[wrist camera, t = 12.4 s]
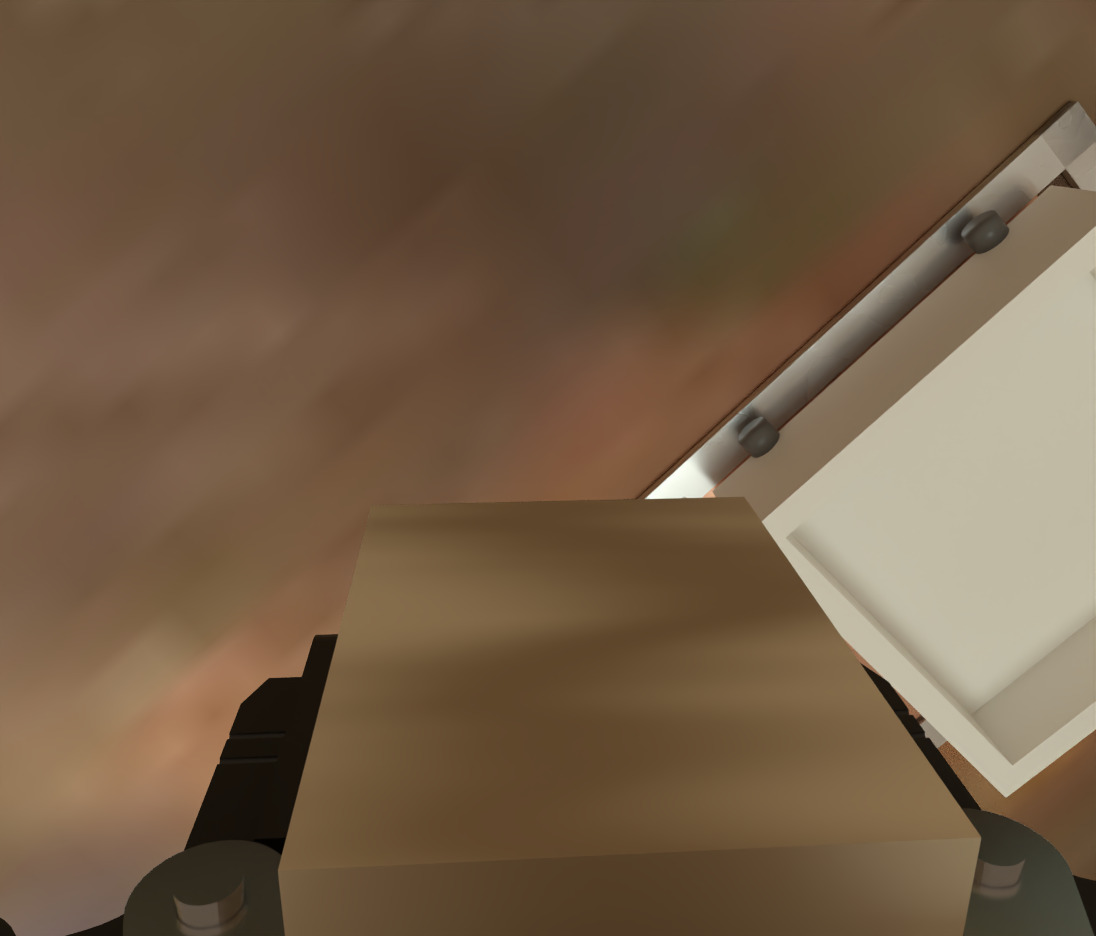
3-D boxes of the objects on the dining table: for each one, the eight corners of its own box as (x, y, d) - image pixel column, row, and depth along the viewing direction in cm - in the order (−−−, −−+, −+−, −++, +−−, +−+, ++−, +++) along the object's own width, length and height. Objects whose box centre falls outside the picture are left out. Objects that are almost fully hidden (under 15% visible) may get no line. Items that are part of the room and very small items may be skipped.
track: (706, 919, 35) (709, 928, 35) (423, 695, 31) (422, 702, 31) (1311, 440, 31) (1321, 445, 30) (1069, 101, 26) (1077, 101, 26)
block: (744, 496, 12) (981, 837, 6) (720, 801, 14) (894, 1290, 8) (371, 505, 12) (277, 872, 6) (391, 815, 13) (329, 1335, 8)
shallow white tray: (958, 732, 32) (1017, 809, 29) (695, 472, 29) (726, 523, 25) (1269, 487, 30) (1374, 538, 27) (1029, 167, 26) (1115, 177, 23)
